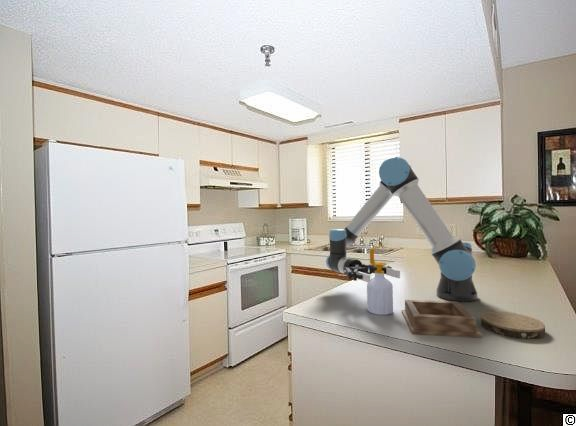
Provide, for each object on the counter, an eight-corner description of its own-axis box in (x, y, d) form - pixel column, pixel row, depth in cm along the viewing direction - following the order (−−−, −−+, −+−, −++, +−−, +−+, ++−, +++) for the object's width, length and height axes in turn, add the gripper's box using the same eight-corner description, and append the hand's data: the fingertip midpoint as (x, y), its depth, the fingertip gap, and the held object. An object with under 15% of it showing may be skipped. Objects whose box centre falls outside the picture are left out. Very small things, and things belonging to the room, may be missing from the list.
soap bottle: (389, 317, 106) (388, 247, 105) (364, 312, 110) (362, 246, 110) (395, 309, 113) (394, 244, 113) (371, 305, 118) (370, 243, 118)
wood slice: (545, 327, 94) (545, 318, 94) (544, 345, 82) (544, 334, 82) (485, 316, 104) (485, 308, 104) (476, 331, 93) (476, 321, 93)
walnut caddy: (458, 314, 106) (458, 300, 106) (481, 337, 87) (481, 320, 87) (401, 312, 110) (401, 298, 110) (411, 333, 91) (411, 317, 91)
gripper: (374, 272, 133) (411, 282, 114) (325, 279, 124) (356, 291, 104) (374, 255, 133) (410, 263, 114) (324, 260, 124) (355, 269, 104)
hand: (384, 276), depth 109 cm, fingers open, 13 cm apart
